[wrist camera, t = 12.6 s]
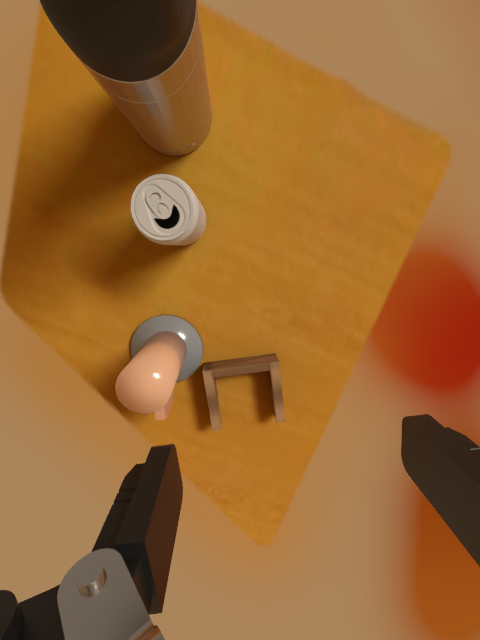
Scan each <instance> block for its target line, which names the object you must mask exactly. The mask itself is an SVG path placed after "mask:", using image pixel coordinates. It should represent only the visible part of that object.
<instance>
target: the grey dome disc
mask: <svg viewBox="0 0 480 640" xmlns="http://www.w3.org/2000/svg"><path fill="white" fill-rule="evenodd" d="M162 331H170V332H174V333H176V334H178V335H179V336H180V337H181V338H182V339H183V340H184V342H185V344H186V347H187V355H186V358H185V360H184V363H183V365H182V368H181V370H180V373H179V375H178V378H177V380H176V382H180V381H182V380H184V379H186V378H188V377H190V376H191V375H192V374H193V373H194V372H195V371H196V369H197V368H198V366H199V364H200V362H201V359H202V354H203V345H202V340H201V338H200V335H199V333H198V332H197V330H196V329H195V328H194V327H193V326H192V325H191V324H190V323H189V322H187V321H186V320H184V319H182V318H180V317H177V316H173V315H159V316H155V317H152V318H150V319H148V320H146V321H145V322H144V323H142V324H141V325H140V326H139V327H138V329H137V330H136V331H135V333H134V335H133V337H132V341H131V356H132V359H133V358H134V357H135V355H136V354H137V353H138V352H139V351H140V350H141V349H142V347H143V346H144V345H145V344H146V343H147V342H148V340H149V339H150V338H151V337H152V336H153V335H155V334H156V333H158V332H162Z"/></svg>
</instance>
